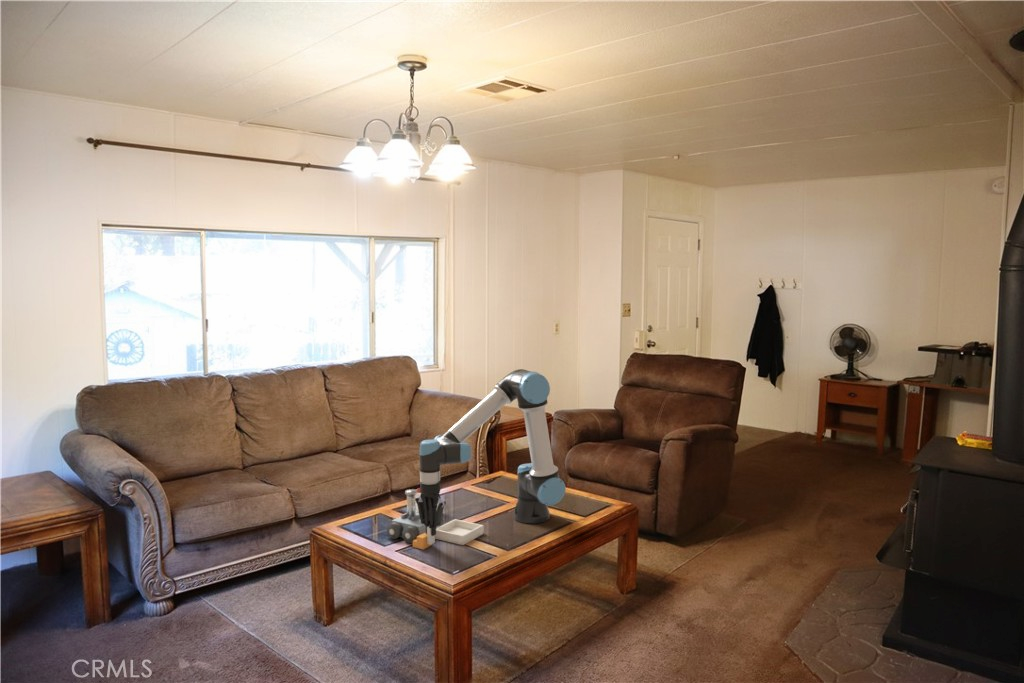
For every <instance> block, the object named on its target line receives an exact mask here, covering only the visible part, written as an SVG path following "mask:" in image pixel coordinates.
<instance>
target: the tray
mask: <svg viewBox="0 0 1024 683" xmlns="http://www.w3.org/2000/svg"><path fill="white" fill-rule="evenodd" d="M484 527H485V526H484V524H479V523H475V522H471V521H465V520H461V519H457V518H454V519H452V520H449V521H448V522H446V523H444V525H442V526H440V527H438V528H436V535H435V540H440V541H445V542H448V543H453V544H457V545H462V546H464V545H466V544H467V543H469V542H471V541H473V540H475V539H476V538H479V537H480V536H483V535H484V532H485V530H484Z"/></svg>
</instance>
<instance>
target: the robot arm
mask: <svg viewBox="0 0 1024 683" xmlns="http://www.w3.org/2000/svg"><path fill="white" fill-rule="evenodd" d="M550 393H551V387H550V383H549V381H548V379H547V378H546V377H545V375H542V374H541V373H539V372H537V371H531V370H526V369H522V368H521V369H515V370H513V371H511V372H509V373H508V374H507V375H506V376H504V377H503V378H502V379H500V380H499V381H498V382H497V383H496V384H495V385H494V387H493V390H492V391H491V392H489V393H488V394H487V395H486V397H484V398H482V400H481V401H480V402H478V403H477V405H475V406H474V407H473V408H472V409H470V410H469V411H468V412H467V413H466V414H465V415H464V416H462V417H461V419H459V421H457V422H456V423H454V425H453V426H452V427H450V428H449V429H448V430H447V431H446V432H445V433H444V434H439V435H436V436H435V437H434V438H433V439H424V440H422V441H421V442H420V444H419V451H418V454H419V481H420V482H419V485H420V486H419V488H420V492H421V495H420V497H418V498H416V499H415V501H416V503H417V505H418V510H419V515H420V520H421V524H424V525H425V526H426V534H427V544H429V545H431V546H432V545H433V544H435V541H436V539H435V535H436V527H437V526H439V525H440V524H441V519H442V518H443V515H444V509H445V506H446V504H447V502H446V501H445V500H444V501H443V500H442V499H441V495H440V493H441V482H440V481H441V466H444V465H453V464H463V463H469V462H470V460H471V458H472V448H471V444H469V443H468V442H465V441H467V439H468V438H470V436H472V435H473V434H475V432H476V431H477V430H478V429H479V428H481V427H482V426H483V425H484V424H486V422H488V420H490V419H491V418H492V417H493V416H494V415H495V414H496V413H498V411H499V410H501V409H502V408H503V407H505V405H506V404H507V405H508V404H509V405H510V404H512V402H514V401H515V400H517V406H518V409H520V410H521V411H522V412H523V418H524V426H525V430H526V438H527V442H528V448H529V455H530V460H531V462H529V463H523V464H522V463H521V464H520V465H519V466H518V467H517V473H516V474H517V502H516V504H515V507H514V511H513V519H514V520H515V521H517V522H520V523H524V524H540V523H545V522H548V520H550V509H549V507H548V506H555V505H556V504H558V503H559V502H561V501H562V499H563V498H564V496H565V494H566V484H565V482H564V481H563V479H562V478H560V473H559V467H558V466H557V465H555V464H554V460H553V452H552V447H551V441H550V435H549V427H548V422H547V415H546V410H545V409H546V406H547V405H548V396H550ZM437 504H438V508H437Z"/></svg>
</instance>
